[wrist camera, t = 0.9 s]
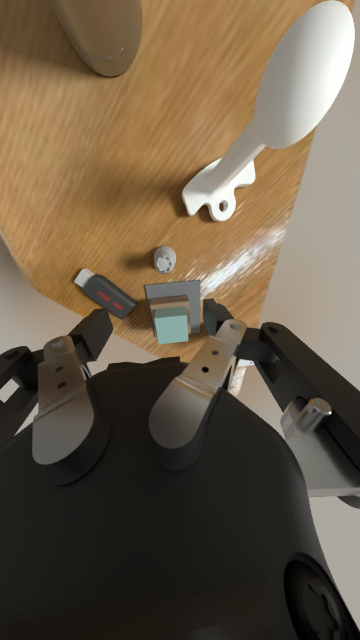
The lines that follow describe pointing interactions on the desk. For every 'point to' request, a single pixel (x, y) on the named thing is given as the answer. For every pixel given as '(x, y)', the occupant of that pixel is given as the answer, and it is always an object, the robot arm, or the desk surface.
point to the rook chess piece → (164, 259)
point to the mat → (177, 289)
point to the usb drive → (105, 293)
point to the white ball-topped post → (282, 103)
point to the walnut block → (169, 303)
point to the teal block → (171, 325)
